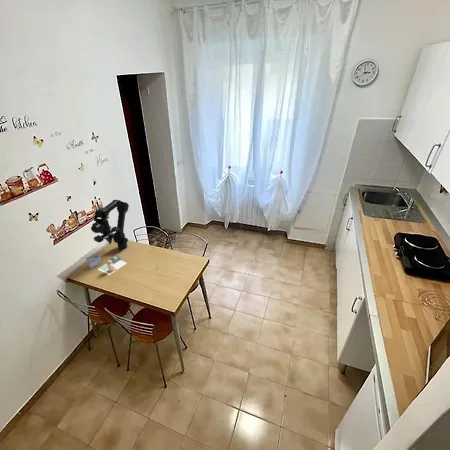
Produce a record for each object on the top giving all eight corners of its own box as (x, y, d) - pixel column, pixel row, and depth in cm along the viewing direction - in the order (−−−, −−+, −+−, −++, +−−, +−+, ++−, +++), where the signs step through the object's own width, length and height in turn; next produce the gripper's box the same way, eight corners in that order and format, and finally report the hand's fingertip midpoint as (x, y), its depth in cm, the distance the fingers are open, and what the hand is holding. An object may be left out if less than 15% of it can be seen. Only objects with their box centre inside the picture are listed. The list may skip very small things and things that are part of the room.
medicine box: (92, 269, 185) (88, 260, 180) (88, 267, 187) (85, 257, 183) (102, 264, 190) (99, 254, 186) (98, 261, 192) (95, 252, 188)
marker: (112, 268, 184) (109, 259, 180) (115, 269, 183) (112, 260, 179) (107, 270, 182) (105, 262, 178) (111, 272, 180) (108, 263, 176)
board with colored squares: (116, 257, 197) (115, 254, 196) (129, 263, 190) (128, 260, 189) (95, 270, 184) (94, 267, 182) (108, 277, 177) (108, 274, 176)
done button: (115, 258, 194) (114, 256, 193) (118, 259, 193) (117, 257, 192) (112, 260, 192) (111, 258, 191) (114, 261, 190) (114, 259, 189)
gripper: (108, 217, 193) (113, 235, 201) (86, 228, 179) (92, 246, 187) (118, 221, 188) (123, 238, 196) (96, 232, 174) (102, 251, 182)
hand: (110, 243), depth 190 cm, fingers closed
